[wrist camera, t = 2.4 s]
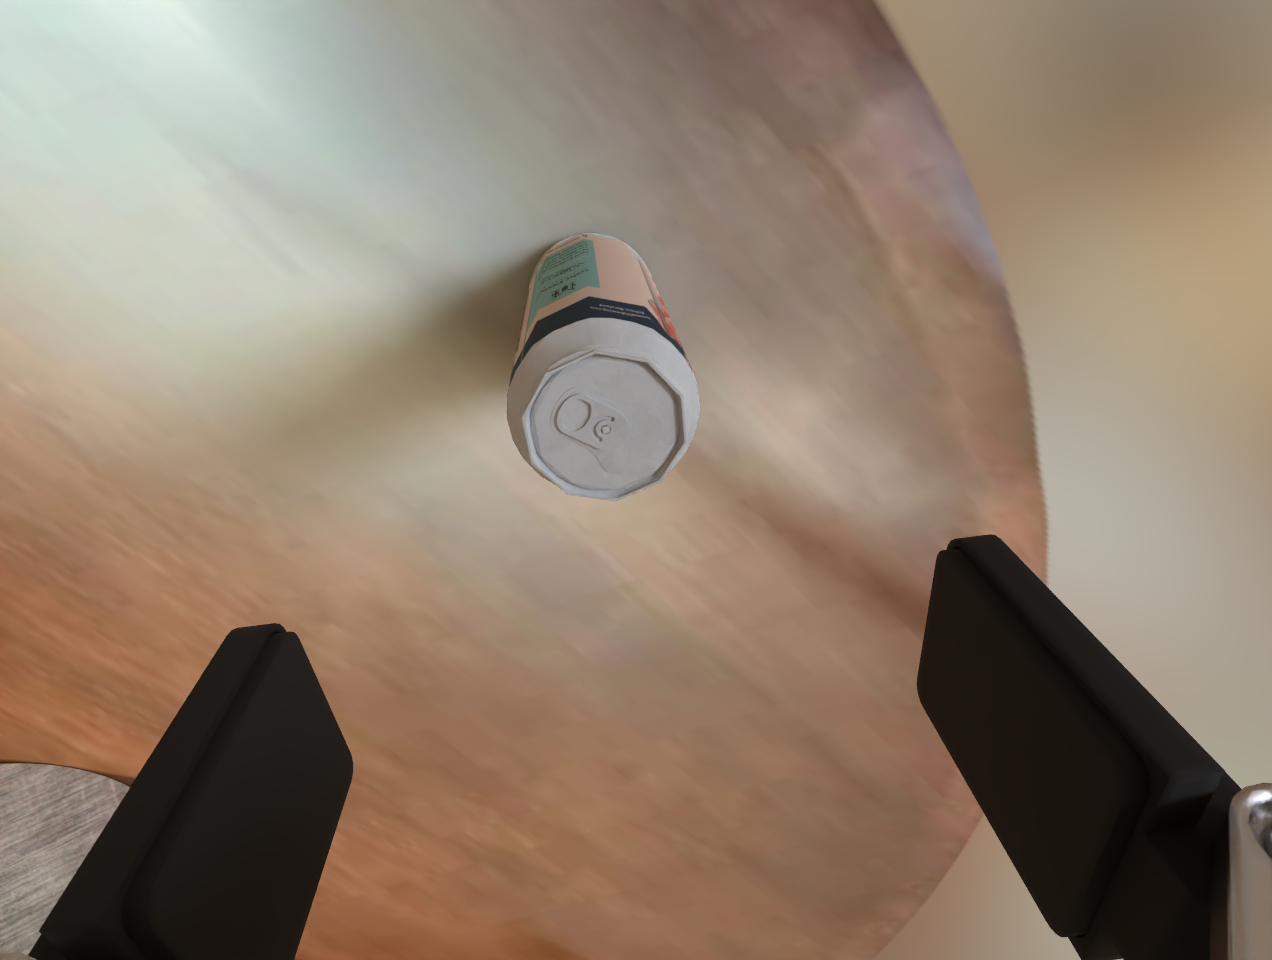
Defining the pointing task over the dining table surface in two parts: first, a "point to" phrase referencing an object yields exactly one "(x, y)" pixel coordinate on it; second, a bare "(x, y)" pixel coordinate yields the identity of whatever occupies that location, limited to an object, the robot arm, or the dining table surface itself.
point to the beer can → (599, 373)
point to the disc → (45, 840)
